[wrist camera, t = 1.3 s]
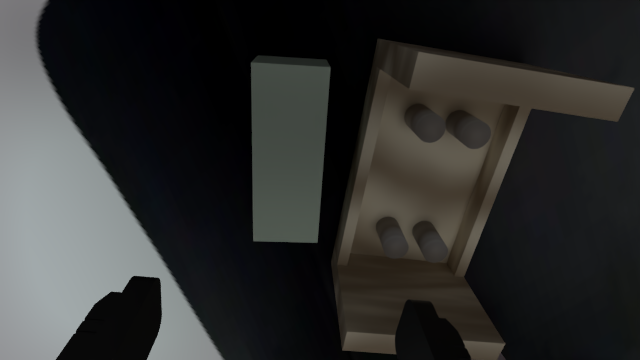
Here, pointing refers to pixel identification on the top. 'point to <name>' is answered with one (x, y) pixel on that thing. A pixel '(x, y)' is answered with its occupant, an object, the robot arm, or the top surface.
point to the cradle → (437, 183)
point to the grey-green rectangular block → (288, 146)
